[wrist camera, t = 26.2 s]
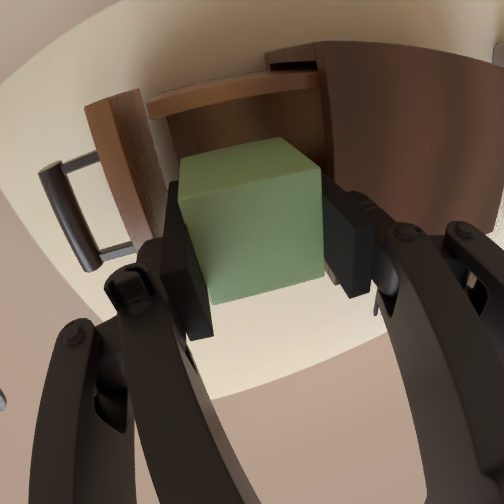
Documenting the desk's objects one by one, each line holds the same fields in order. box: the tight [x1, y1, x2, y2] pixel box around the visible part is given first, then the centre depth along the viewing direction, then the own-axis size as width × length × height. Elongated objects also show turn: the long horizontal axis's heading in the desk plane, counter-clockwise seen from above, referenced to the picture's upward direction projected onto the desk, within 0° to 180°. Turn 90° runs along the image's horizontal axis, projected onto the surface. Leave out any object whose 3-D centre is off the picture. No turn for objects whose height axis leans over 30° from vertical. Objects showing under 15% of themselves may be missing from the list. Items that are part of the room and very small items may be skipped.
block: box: [178, 137, 324, 305], centre depth 12 cm, size 4×4×4 cm
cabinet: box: [264, 41, 504, 285], centre depth 17 cm, size 15×13×10 cm
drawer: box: [38, 67, 327, 272], centre depth 17 cm, size 19×12×8 cm, turn 99°
